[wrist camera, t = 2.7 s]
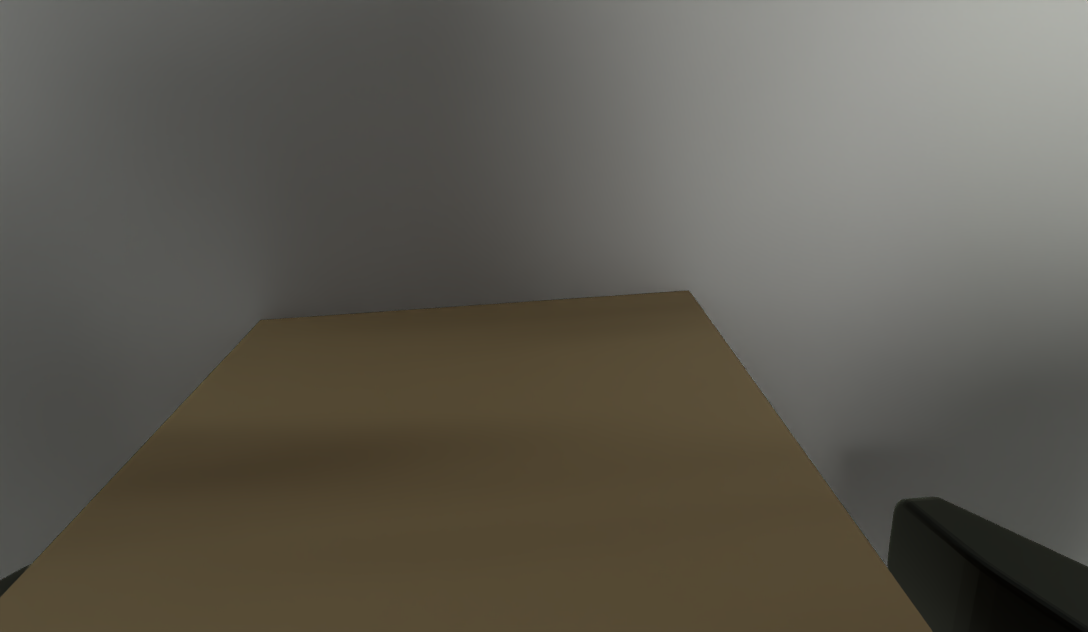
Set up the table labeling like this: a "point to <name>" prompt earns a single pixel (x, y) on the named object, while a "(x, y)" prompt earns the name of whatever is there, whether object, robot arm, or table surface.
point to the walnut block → (469, 489)
